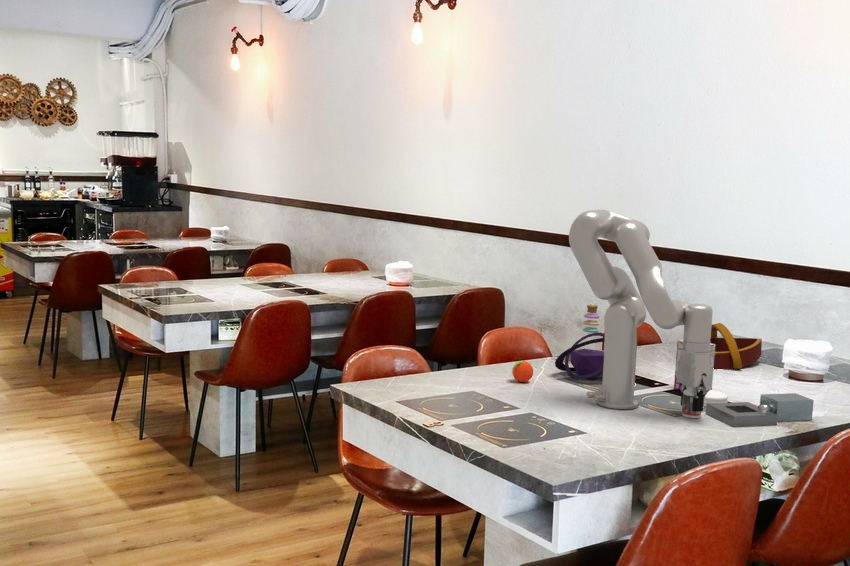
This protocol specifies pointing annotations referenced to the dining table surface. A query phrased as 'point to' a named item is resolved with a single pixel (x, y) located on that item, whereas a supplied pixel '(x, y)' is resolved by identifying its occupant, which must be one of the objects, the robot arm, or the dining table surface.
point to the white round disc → (715, 397)
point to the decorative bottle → (584, 352)
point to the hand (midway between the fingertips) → (691, 407)
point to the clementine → (522, 371)
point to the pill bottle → (689, 403)
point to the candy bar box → (679, 349)
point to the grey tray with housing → (763, 410)
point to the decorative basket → (733, 349)
